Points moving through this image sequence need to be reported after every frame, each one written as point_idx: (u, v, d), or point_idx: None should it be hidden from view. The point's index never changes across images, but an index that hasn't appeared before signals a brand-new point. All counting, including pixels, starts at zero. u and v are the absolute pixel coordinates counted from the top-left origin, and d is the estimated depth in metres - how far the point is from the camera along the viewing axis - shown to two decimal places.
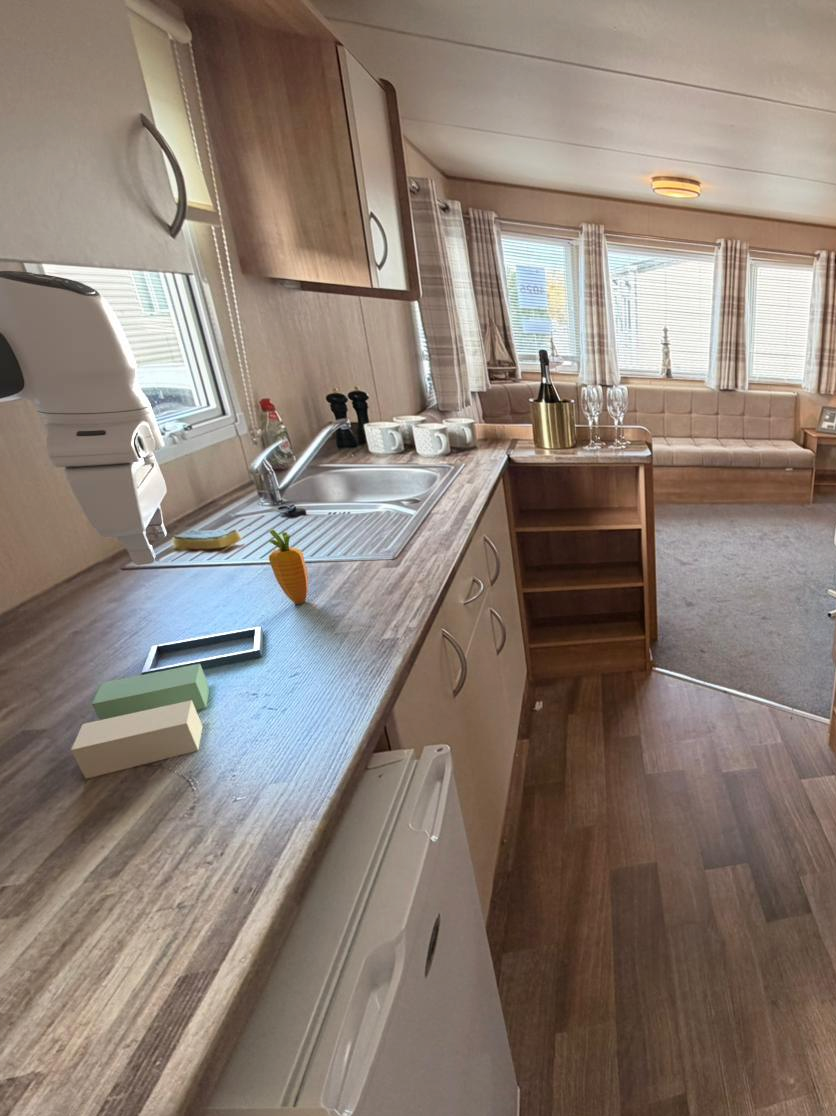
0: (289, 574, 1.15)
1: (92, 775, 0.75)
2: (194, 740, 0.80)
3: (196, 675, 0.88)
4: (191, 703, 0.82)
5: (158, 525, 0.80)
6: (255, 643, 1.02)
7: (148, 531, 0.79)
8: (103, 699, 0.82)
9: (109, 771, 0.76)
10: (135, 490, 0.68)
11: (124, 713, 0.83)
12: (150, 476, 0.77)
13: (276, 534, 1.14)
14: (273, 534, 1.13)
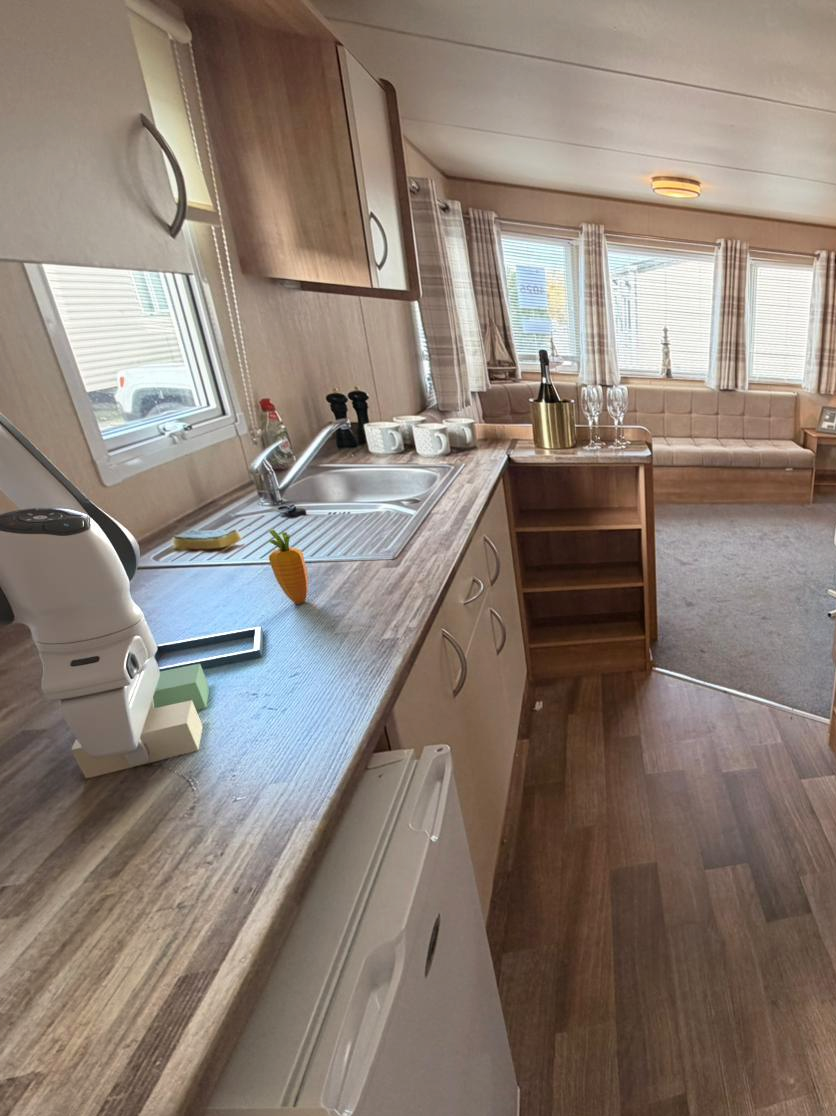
0: (289, 574, 1.15)
1: (92, 775, 0.75)
2: (194, 740, 0.80)
3: (196, 675, 0.88)
4: (191, 702, 0.82)
5: None
6: (255, 643, 1.02)
7: None
8: None
9: (109, 771, 0.76)
10: (128, 713, 0.70)
11: None
12: (143, 674, 0.79)
13: (276, 534, 1.14)
14: (273, 534, 1.13)
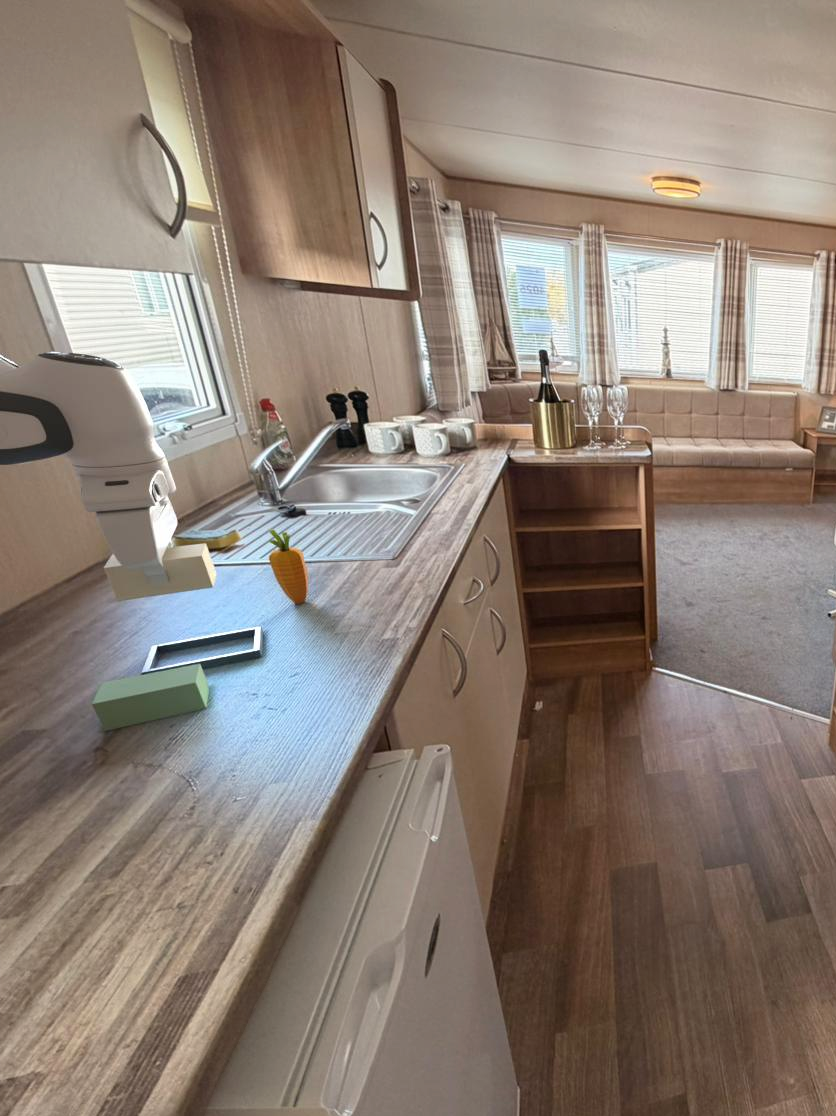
0: (289, 574, 1.15)
1: (121, 593, 0.87)
2: (208, 573, 0.92)
3: (196, 675, 0.88)
4: (205, 544, 0.95)
5: None
6: (255, 643, 1.02)
7: None
8: (103, 699, 0.82)
9: (135, 592, 0.88)
10: (152, 529, 0.82)
11: (124, 713, 0.83)
12: (164, 514, 0.91)
13: (276, 534, 1.14)
14: (273, 534, 1.13)
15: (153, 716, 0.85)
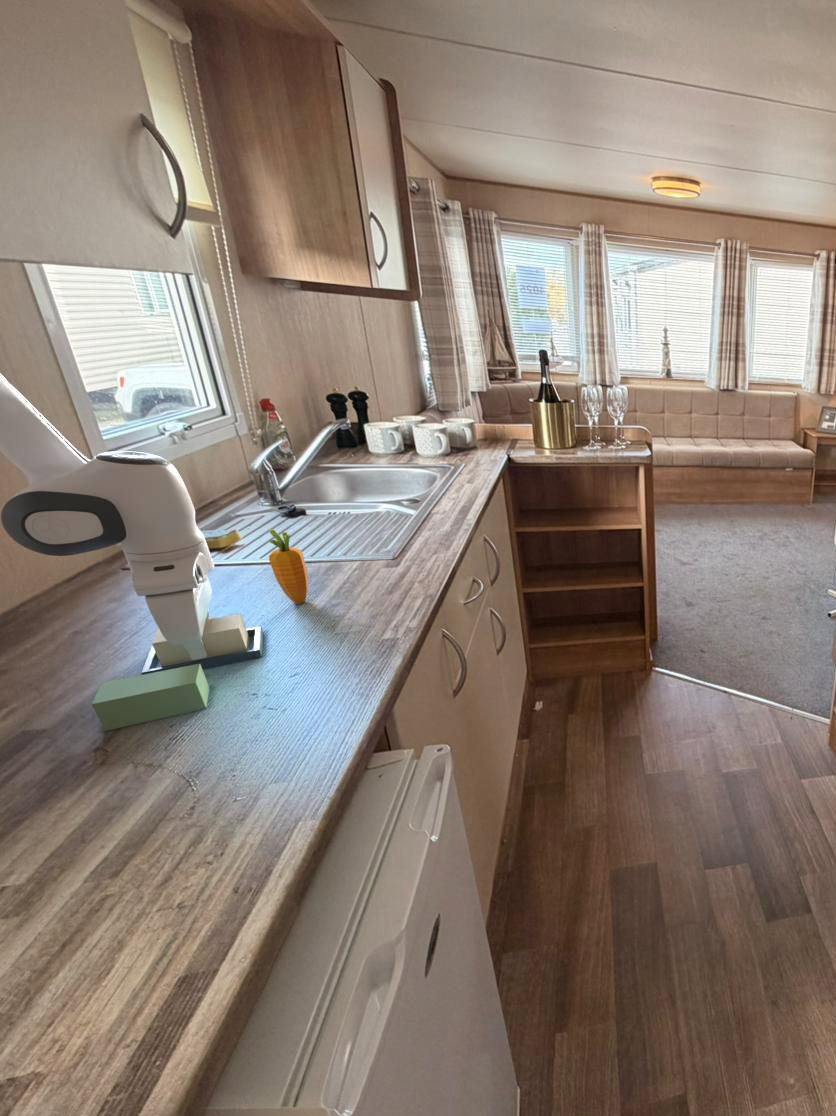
0: (289, 574, 1.15)
1: (167, 665, 0.96)
2: (244, 643, 1.01)
3: (196, 675, 0.88)
4: (240, 615, 1.03)
5: None
6: (255, 643, 1.02)
7: None
8: (103, 699, 0.82)
9: None
10: (196, 609, 0.91)
11: (124, 713, 0.83)
12: (202, 587, 1.00)
13: (276, 534, 1.14)
14: (273, 534, 1.13)
15: (153, 716, 0.85)
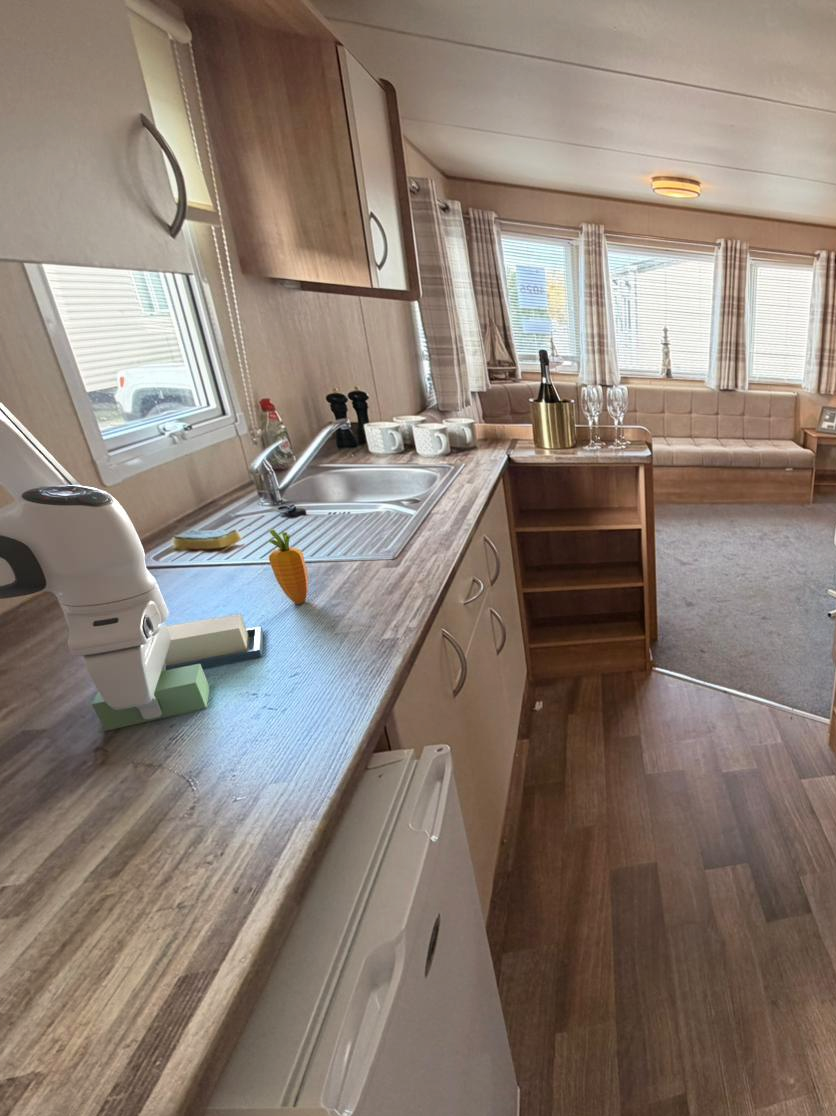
0: (289, 574, 1.15)
1: (167, 665, 0.96)
2: (244, 643, 1.01)
3: (196, 675, 0.88)
4: (240, 615, 1.03)
5: None
6: (255, 643, 1.02)
7: None
8: (103, 699, 0.82)
9: None
10: (144, 669, 0.78)
11: (124, 713, 0.83)
12: (156, 638, 0.87)
13: (276, 534, 1.14)
14: (273, 534, 1.13)
15: None
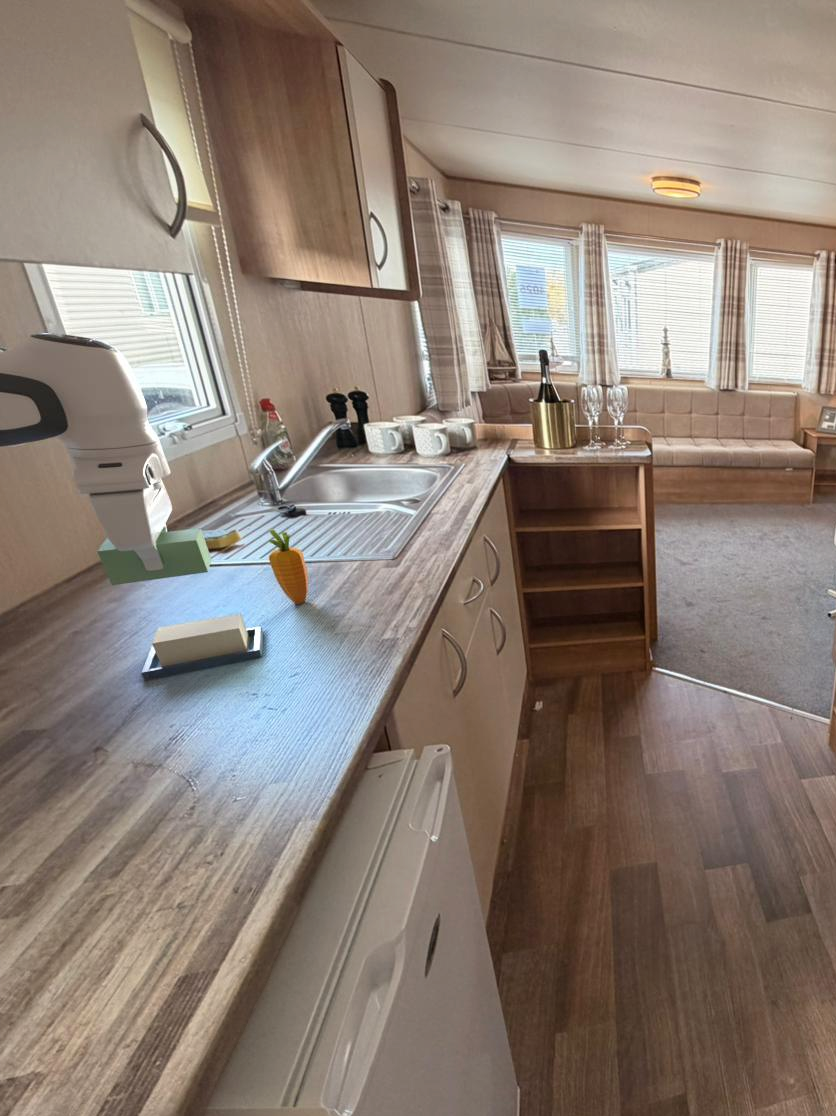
0: (289, 574, 1.15)
1: (167, 665, 0.96)
2: (244, 643, 1.01)
3: (197, 535, 0.92)
4: (240, 615, 1.03)
5: None
6: (255, 643, 1.02)
7: None
8: (108, 548, 0.86)
9: None
10: (146, 512, 0.82)
11: (128, 564, 0.87)
12: (158, 498, 0.91)
13: (276, 534, 1.14)
14: (273, 534, 1.13)
15: (155, 570, 0.89)
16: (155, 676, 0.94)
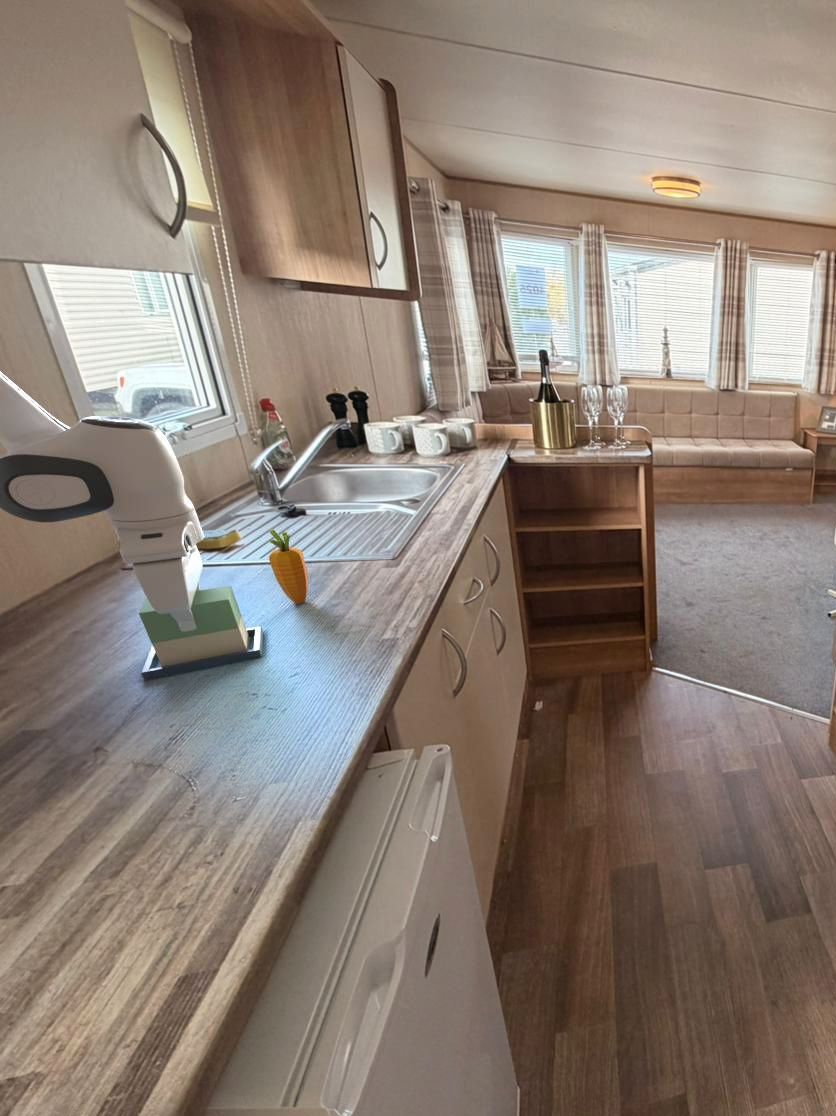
0: (289, 574, 1.15)
1: (167, 665, 0.96)
2: (244, 643, 1.01)
3: (228, 594, 0.99)
4: (240, 615, 1.03)
5: None
6: (255, 643, 1.02)
7: None
8: (148, 610, 0.93)
9: None
10: (184, 578, 0.89)
11: (166, 623, 0.94)
12: (192, 559, 0.98)
13: (276, 534, 1.14)
14: (273, 534, 1.13)
15: None
16: (155, 676, 0.94)
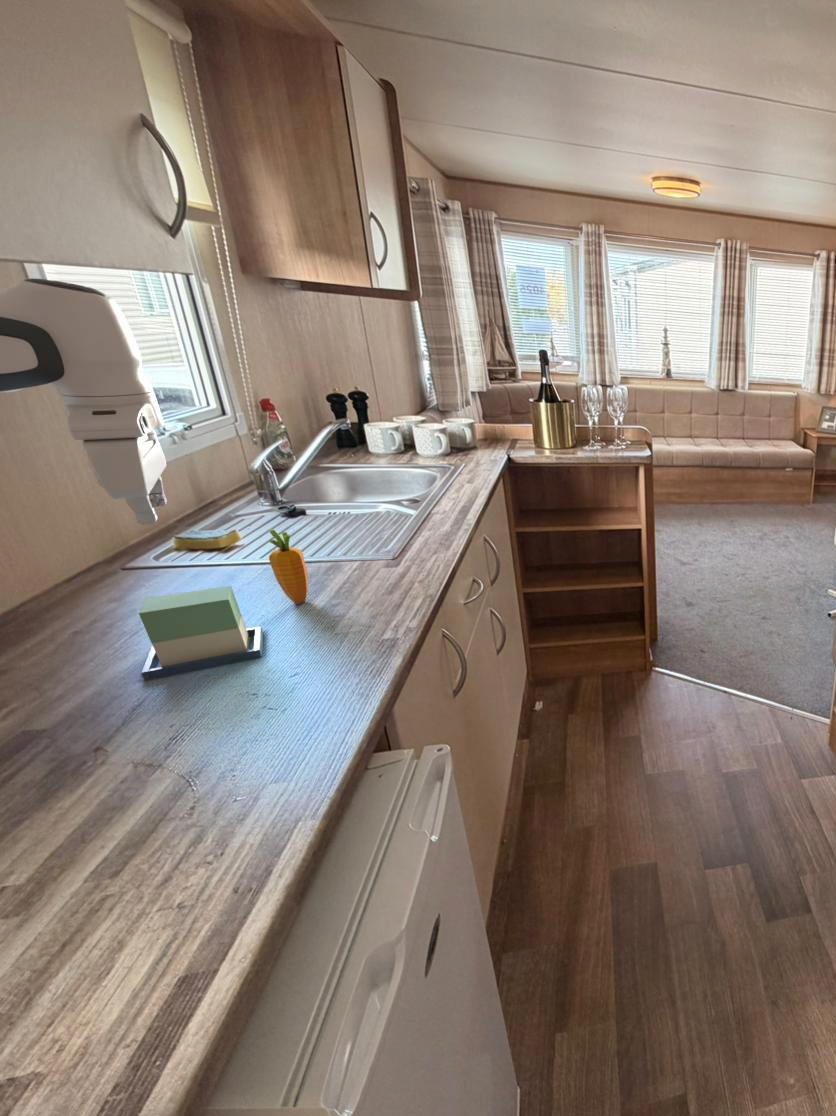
0: (289, 574, 1.15)
1: (167, 665, 0.96)
2: (244, 643, 1.01)
3: (228, 594, 0.99)
4: (240, 615, 1.03)
5: (159, 493, 0.94)
6: (255, 643, 1.02)
7: (151, 498, 0.93)
8: (148, 610, 0.93)
9: None
10: (140, 460, 0.82)
11: (166, 623, 0.94)
12: (152, 451, 0.91)
13: (276, 534, 1.14)
14: (273, 534, 1.13)
15: (191, 628, 0.96)
16: (155, 676, 0.94)
